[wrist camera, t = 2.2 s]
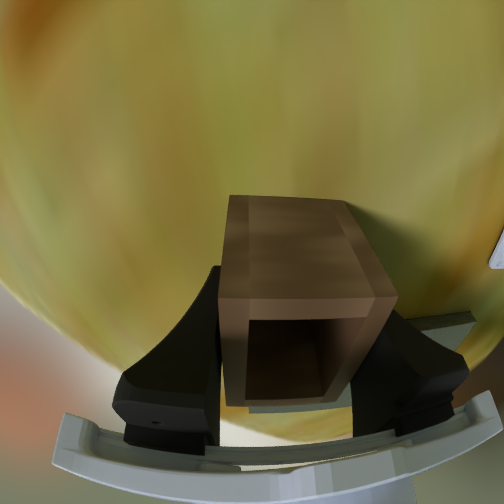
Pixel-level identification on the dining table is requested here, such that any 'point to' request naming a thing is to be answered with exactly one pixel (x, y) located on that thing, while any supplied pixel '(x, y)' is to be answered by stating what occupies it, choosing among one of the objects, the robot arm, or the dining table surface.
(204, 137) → the dining table surface
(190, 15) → the dining table surface
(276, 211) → the hollow wooden block
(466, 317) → the plate
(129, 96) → the dining table surface
